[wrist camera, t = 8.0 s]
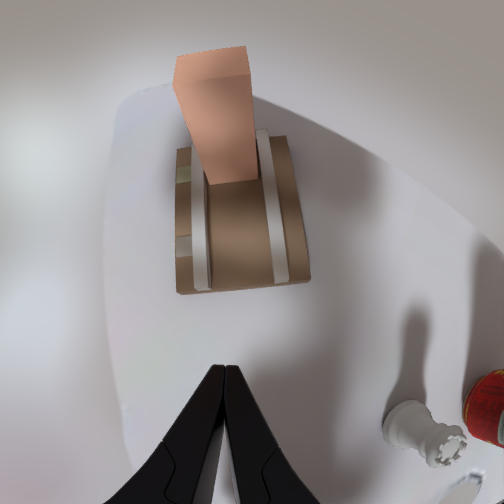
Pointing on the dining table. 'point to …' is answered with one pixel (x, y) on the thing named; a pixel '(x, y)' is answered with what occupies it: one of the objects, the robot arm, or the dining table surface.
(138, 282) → the dining table surface
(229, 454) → the robot arm
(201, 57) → the slider tab
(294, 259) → the wooden rail base
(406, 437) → the rook chess piece
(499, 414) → the soda can
